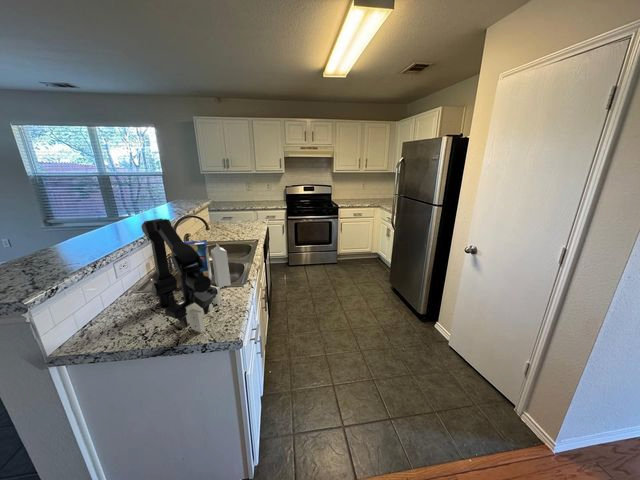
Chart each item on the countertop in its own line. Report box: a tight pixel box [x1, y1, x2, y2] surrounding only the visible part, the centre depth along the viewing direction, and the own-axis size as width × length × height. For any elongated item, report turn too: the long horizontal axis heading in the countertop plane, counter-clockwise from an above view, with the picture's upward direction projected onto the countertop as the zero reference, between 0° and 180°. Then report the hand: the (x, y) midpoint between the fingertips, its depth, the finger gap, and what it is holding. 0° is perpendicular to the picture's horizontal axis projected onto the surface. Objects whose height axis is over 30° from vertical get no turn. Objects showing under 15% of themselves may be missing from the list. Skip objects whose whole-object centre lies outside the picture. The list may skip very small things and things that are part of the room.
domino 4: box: [208, 303, 214, 312], centre depth 110 cm, size 5×2×8 cm, turn 66°
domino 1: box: [178, 301, 192, 325], centre depth 101 cm, size 5×2×8 cm, turn 66°
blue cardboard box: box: [183, 239, 213, 281], centre depth 133 cm, size 7×11×22 cm, turn 104°
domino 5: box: [210, 285, 222, 306], centre depth 114 cm, size 5×2×8 cm, turn 66°
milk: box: [210, 243, 231, 289], centre depth 129 cm, size 6×6×22 cm
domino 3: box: [188, 309, 206, 333], centre depth 96 cm, size 5×2×8 cm, turn 66°
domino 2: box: [191, 303, 205, 317], centre depth 106 cm, size 5×2×8 cm, turn 66°
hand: (196, 320), depth 97 cm, fingers open, 9 cm apart
